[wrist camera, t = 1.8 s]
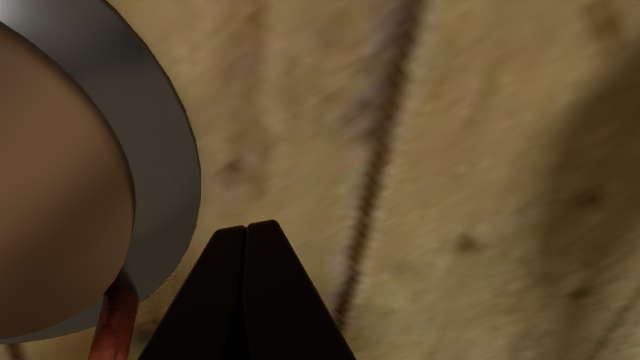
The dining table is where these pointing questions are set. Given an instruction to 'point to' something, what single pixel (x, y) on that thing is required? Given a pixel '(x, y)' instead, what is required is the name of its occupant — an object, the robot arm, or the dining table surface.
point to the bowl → (138, 144)
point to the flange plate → (55, 193)
